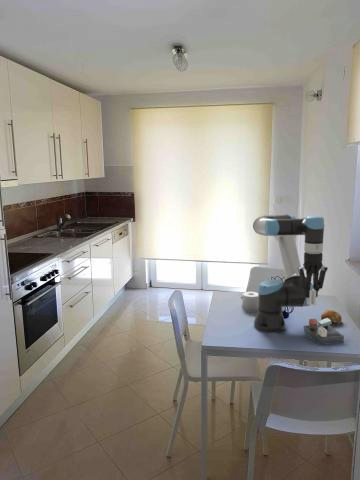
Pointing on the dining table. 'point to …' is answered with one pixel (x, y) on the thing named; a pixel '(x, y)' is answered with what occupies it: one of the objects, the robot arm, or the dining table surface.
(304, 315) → the dining table surface
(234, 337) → the dining table surface
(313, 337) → the panel
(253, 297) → the toilet tissue
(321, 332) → the slider knob
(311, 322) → the red button
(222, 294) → the dining table surface
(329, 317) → the bread roll
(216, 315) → the dining table surface
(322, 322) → the rocker
